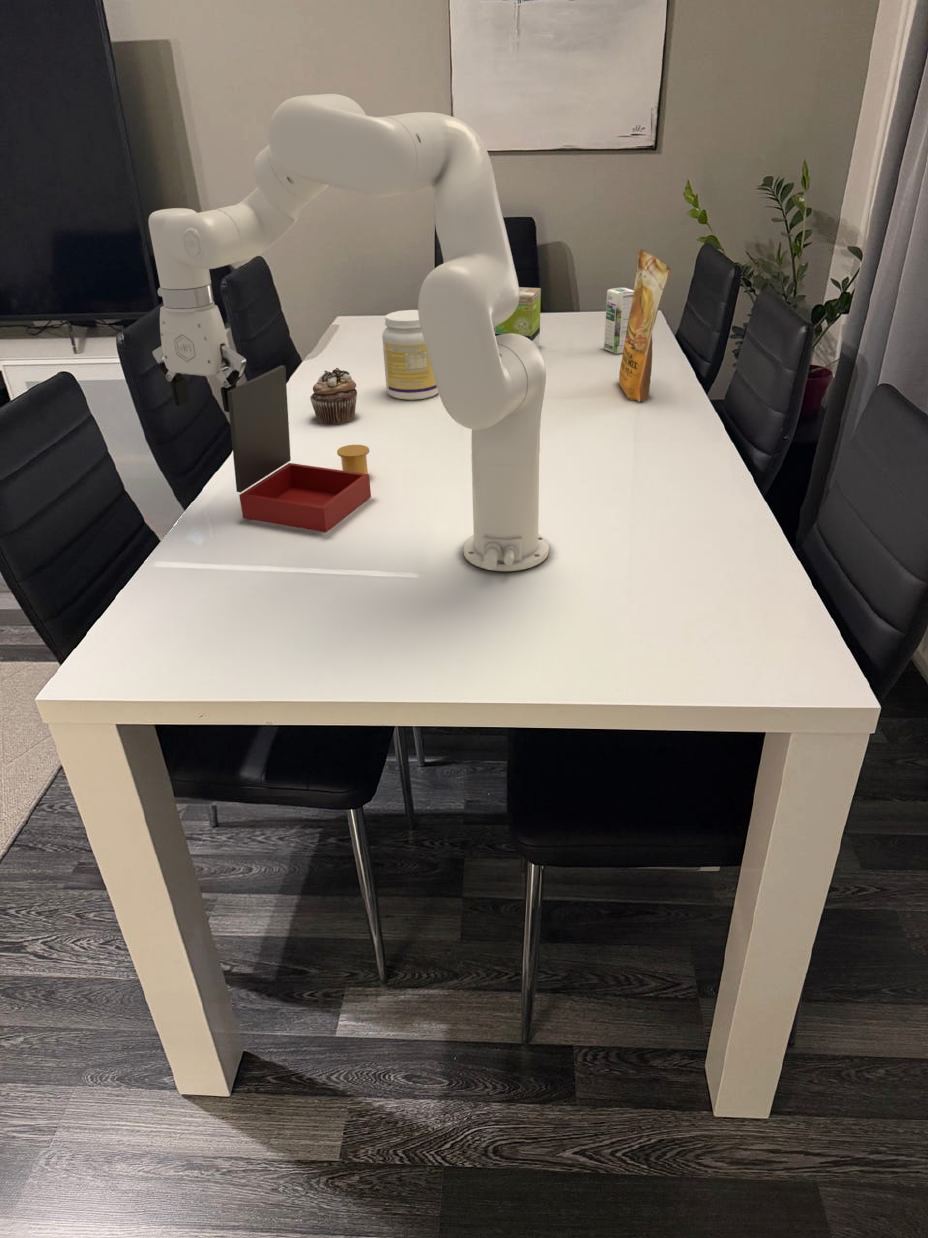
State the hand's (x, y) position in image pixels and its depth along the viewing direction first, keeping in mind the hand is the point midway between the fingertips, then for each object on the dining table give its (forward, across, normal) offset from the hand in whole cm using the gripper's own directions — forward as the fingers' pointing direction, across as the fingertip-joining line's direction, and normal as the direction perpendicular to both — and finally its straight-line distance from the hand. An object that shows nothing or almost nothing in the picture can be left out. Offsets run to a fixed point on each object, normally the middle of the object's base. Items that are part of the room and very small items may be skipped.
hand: (207, 406), depth 149 cm
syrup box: (+16, +39, +110) cm, 118 cm away
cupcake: (+16, -2, +42) cm, 45 cm away
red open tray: (+16, +17, 0) cm, 23 cm away
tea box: (+16, +13, +102) cm, 104 cm away
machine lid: (+3, +10, 0) cm, 11 cm away
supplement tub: (+16, +5, +63) cm, 65 cm away
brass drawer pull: (+16, +18, +15) cm, 28 cm away
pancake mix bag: (+16, +52, +80) cm, 96 cm away
